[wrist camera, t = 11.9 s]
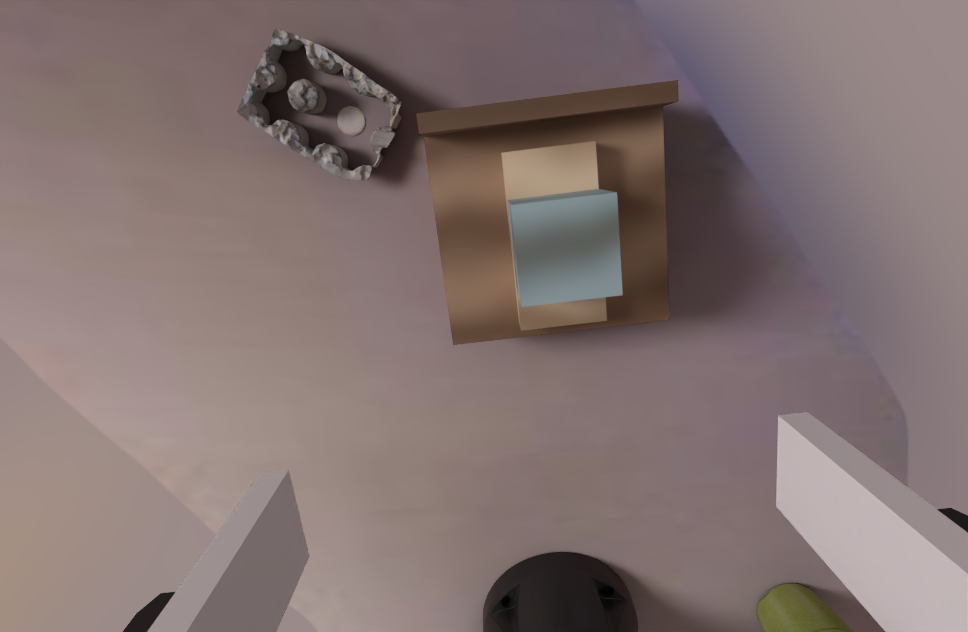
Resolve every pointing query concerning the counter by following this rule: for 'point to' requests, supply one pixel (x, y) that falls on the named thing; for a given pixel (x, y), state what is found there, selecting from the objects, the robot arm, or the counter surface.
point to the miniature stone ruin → (316, 105)
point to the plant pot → (797, 611)
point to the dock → (483, 209)
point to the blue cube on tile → (561, 235)
